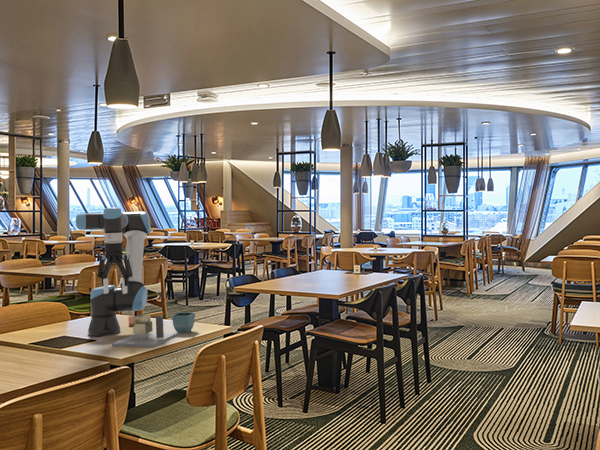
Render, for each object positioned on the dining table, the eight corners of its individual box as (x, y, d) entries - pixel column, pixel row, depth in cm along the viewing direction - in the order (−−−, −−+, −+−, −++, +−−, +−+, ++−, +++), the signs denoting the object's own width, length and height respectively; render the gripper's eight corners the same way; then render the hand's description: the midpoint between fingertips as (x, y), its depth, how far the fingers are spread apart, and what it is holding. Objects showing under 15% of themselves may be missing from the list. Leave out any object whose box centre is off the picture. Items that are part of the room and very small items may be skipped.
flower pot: (189, 334, 268) (188, 315, 268) (171, 334, 269) (171, 315, 269) (196, 330, 276) (195, 312, 276) (179, 330, 278) (178, 312, 278)
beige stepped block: (139, 330, 260) (139, 311, 260) (153, 330, 259) (153, 311, 258) (123, 337, 246) (122, 317, 246) (137, 337, 245) (137, 317, 244)
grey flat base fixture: (112, 346, 247) (111, 321, 247) (137, 335, 269) (136, 312, 269) (153, 347, 243) (152, 322, 242) (176, 336, 264) (175, 313, 264)
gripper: (87, 243, 246) (89, 294, 246) (131, 242, 241) (132, 294, 241) (97, 242, 253) (99, 292, 254) (139, 241, 248) (141, 292, 249)
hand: (115, 293), depth 247 cm, fingers open, 9 cm apart
